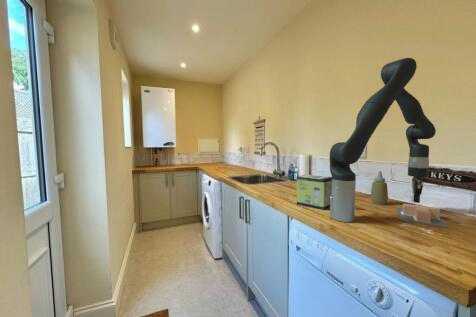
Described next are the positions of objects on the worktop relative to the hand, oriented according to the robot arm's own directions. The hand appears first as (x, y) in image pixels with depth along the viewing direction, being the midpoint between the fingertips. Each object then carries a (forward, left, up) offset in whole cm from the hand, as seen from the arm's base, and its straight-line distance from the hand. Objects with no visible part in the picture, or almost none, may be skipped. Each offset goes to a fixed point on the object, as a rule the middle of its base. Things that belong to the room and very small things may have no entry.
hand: (416, 202), depth 100 cm
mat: (0, -9, -5) cm, 10 cm away
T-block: (+1, -12, -4) cm, 13 cm away
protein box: (-44, -16, -5) cm, 47 cm away
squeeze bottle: (-15, +5, -5) cm, 16 cm away
